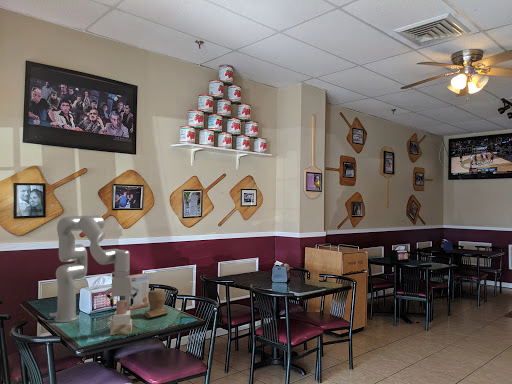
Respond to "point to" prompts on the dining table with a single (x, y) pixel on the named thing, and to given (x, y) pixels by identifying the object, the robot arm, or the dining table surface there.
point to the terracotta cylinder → (121, 307)
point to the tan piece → (156, 304)
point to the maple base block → (121, 328)
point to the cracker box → (142, 296)
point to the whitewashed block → (122, 318)
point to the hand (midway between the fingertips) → (121, 306)
